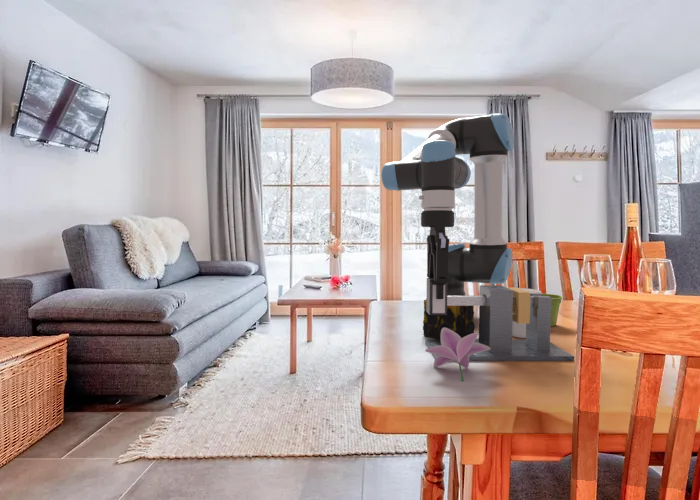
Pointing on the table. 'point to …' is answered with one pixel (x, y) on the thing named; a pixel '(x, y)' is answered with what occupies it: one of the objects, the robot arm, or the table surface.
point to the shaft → (458, 299)
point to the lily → (456, 349)
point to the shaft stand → (499, 330)
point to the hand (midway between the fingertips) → (436, 310)
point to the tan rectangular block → (521, 306)
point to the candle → (449, 321)
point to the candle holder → (520, 329)
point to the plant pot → (554, 307)
